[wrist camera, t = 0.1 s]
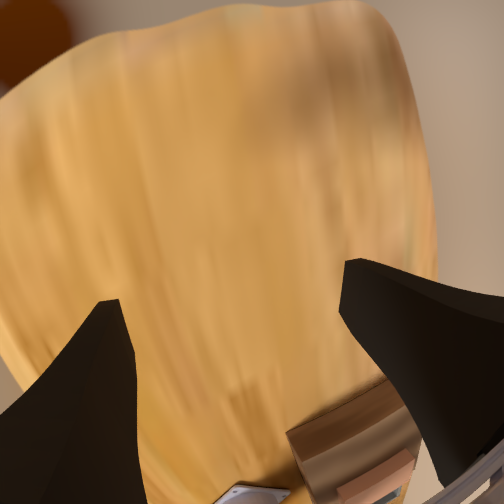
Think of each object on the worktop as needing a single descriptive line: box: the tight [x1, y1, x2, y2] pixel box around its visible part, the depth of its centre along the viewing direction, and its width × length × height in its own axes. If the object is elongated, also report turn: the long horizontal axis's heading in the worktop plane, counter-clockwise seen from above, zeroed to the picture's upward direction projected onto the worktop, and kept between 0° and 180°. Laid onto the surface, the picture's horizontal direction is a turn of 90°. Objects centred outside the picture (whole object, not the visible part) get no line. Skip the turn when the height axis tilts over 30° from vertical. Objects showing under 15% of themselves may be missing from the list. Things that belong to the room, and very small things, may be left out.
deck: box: [286, 379, 422, 504], centre depth 28 cm, size 18×14×4 cm
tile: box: [337, 448, 415, 504], centre depth 26 cm, size 6×9×2 cm, turn 107°
